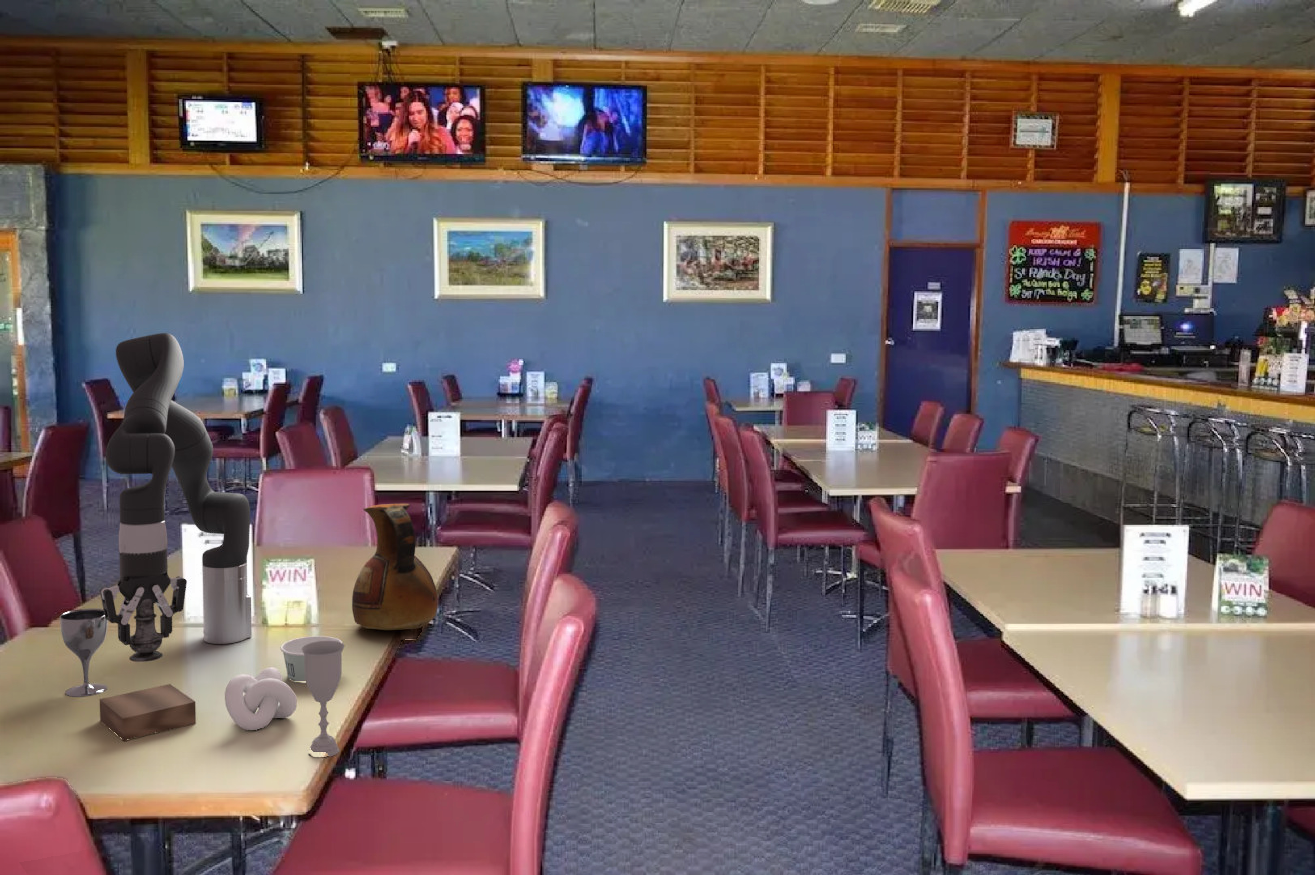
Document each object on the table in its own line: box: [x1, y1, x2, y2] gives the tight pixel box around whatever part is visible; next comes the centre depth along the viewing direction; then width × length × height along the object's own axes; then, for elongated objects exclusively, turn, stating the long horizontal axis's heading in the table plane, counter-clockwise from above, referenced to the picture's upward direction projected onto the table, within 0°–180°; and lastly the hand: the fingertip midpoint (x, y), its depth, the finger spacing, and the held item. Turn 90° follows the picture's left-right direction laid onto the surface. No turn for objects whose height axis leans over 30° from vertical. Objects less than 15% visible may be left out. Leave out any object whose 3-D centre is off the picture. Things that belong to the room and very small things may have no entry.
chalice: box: [301, 641, 345, 758], centre depth 170 cm, size 7×7×18 cm
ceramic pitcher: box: [351, 503, 439, 631], centre depth 240 cm, size 20×20×30 cm
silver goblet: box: [59, 608, 109, 698], centre depth 195 cm, size 8×8×15 cm
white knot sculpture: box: [224, 666, 298, 731], centre depth 182 cm, size 11×12×9 cm
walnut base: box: [99, 683, 197, 741], centre depth 181 cm, size 12×12×4 cm
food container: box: [279, 635, 343, 681], centre depth 207 cm, size 12×12×6 cm
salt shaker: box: [129, 599, 165, 663], centre depth 179 cm, size 6×6×12 cm
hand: (145, 640), depth 180 cm, fingers closed on salt shaker, 6 cm apart
